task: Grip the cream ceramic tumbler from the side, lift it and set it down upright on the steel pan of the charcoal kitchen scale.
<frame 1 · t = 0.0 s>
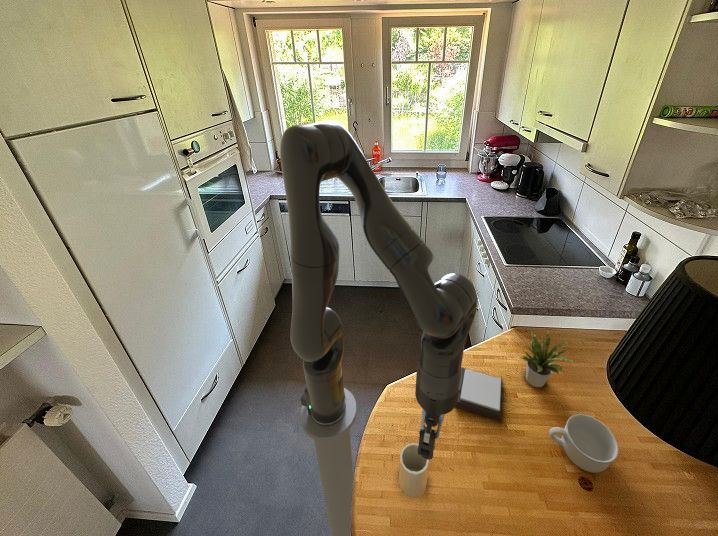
hand: (431, 434, 63), 21 cm above the countertop, tool pointing down, fingers open, 8 cm apart
scale: (478, 394, 94), on the countertop
tumbler: (412, 482, 74), on the countertop
teacup: (574, 452, 80), on the countertop
house plant: (539, 381, 98), on the countertop
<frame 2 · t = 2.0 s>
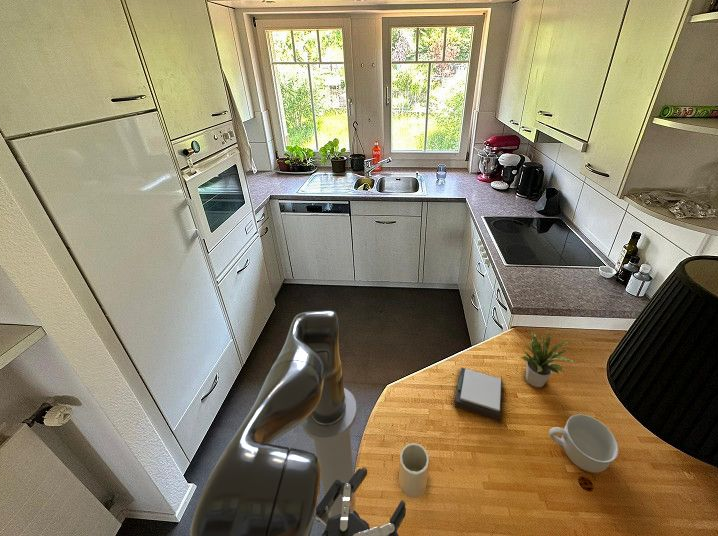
hand: (383, 486, 58), 18 cm above the countertop, tool horizontal, fingers open, 8 cm apart
nothing on the countertop moved.
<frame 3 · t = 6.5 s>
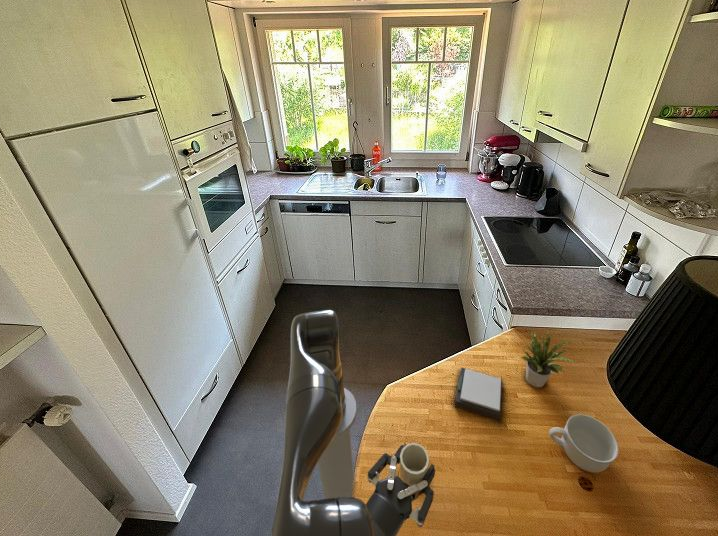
hand: (419, 456, 72), 7 cm above the countertop, tool horizontal, fingers closed on tumbler, 6 cm apart
tumbler: (412, 482, 74), on the countertop, touching gripper
everything else where it was.
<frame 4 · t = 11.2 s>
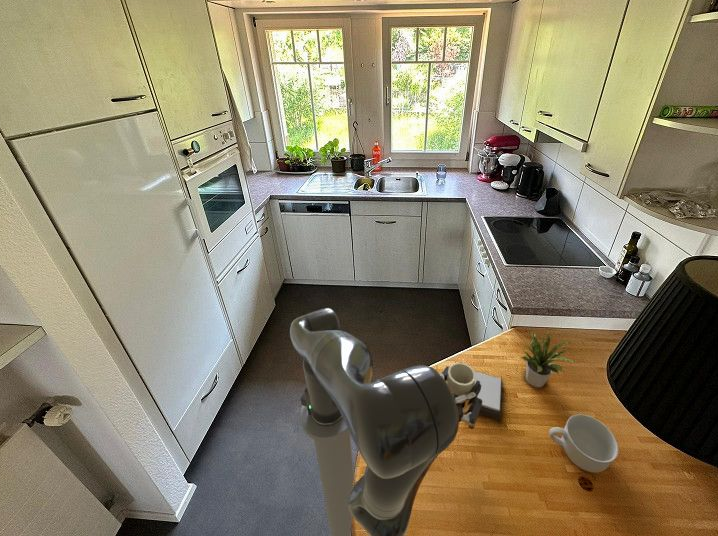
hand: (464, 375, 77), 19 cm above the countertop, tool horizontal, fingers closed on tumbler, 6 cm apart
tumbler: (457, 401, 79), point 12 cm above the countertop, touching gripper
everything else where it was.
when the fingers open (10 cm above the countertop, at t = 15.9 s): tumbler stays where it is, resting on scale.
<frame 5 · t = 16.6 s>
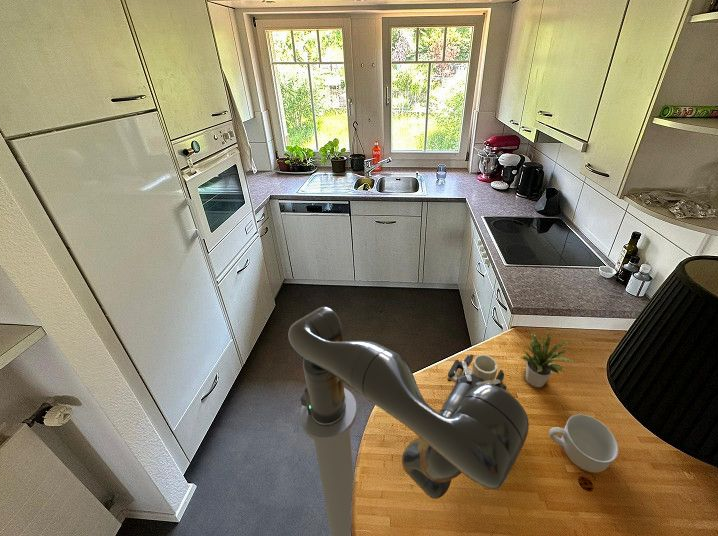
hand: (486, 364, 90), 11 cm above the countertop, tool horizontal, fingers open, 8 cm apart
tumbler: (480, 387, 92), point 3 cm above the countertop, touching scale
everything else where it was.
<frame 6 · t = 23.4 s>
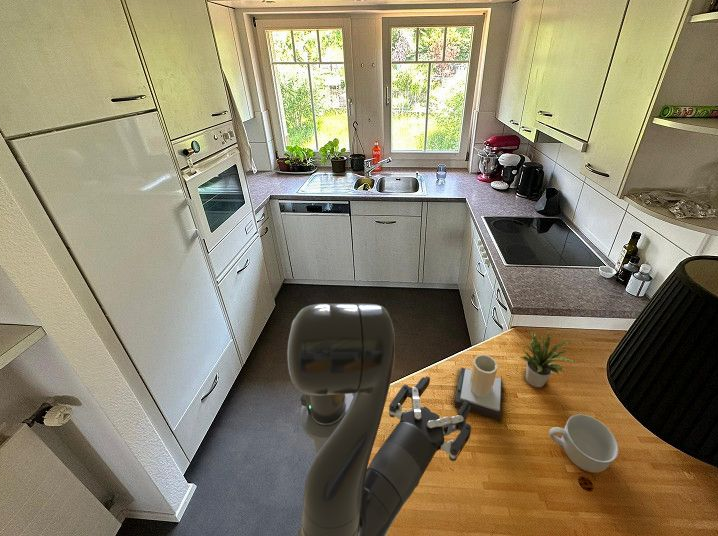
hand: (447, 390, 63), 28 cm above the countertop, tool horizontal, fingers open, 8 cm apart
nothing on the countertop moved.
at the end: tumbler inside the target area on the scale (0.1 cm from its centre), point 3.2 cm above the scale's base; tumbler tilted 0°; the gripper is holding nothing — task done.
